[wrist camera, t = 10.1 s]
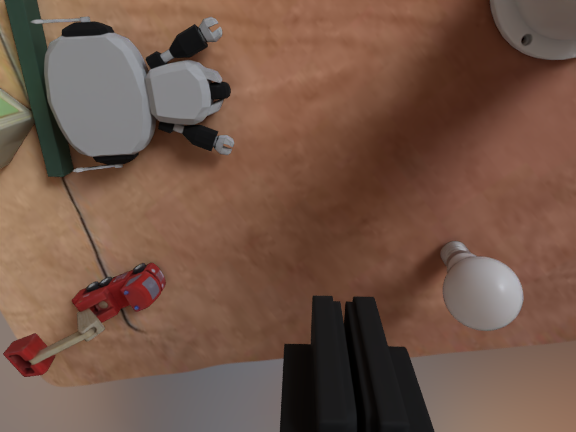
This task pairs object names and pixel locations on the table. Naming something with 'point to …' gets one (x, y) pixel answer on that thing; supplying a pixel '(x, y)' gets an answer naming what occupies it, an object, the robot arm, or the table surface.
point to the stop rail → (38, 84)
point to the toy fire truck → (90, 315)
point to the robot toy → (130, 91)
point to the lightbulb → (479, 289)
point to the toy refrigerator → (12, 126)
